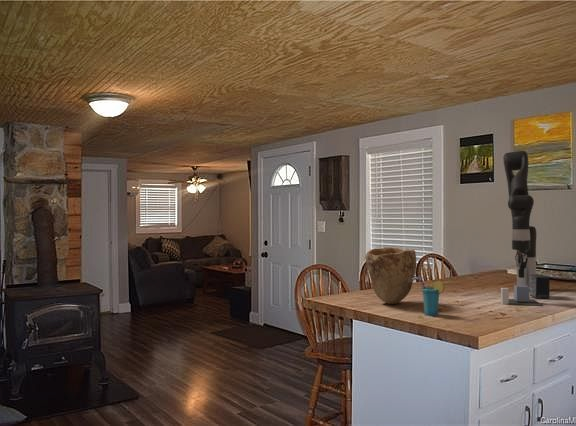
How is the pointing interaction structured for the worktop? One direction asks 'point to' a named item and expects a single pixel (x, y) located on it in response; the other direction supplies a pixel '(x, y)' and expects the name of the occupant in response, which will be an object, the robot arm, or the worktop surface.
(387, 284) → the bowl
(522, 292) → the blue-grey block
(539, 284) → the small box
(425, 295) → the cup
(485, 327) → the worktop surface
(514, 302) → the dark grey square tray
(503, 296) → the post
